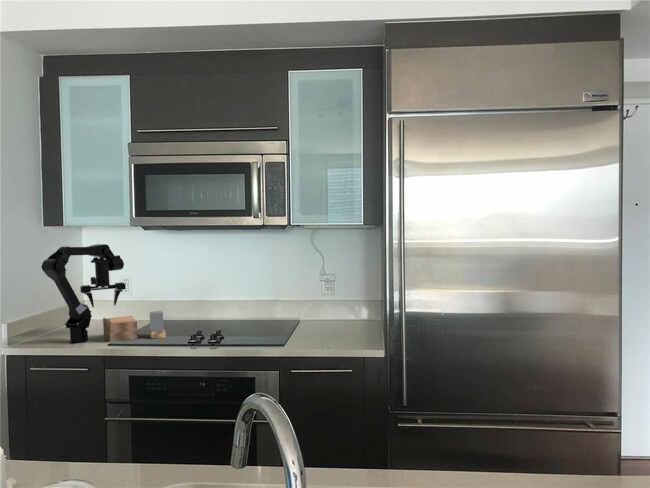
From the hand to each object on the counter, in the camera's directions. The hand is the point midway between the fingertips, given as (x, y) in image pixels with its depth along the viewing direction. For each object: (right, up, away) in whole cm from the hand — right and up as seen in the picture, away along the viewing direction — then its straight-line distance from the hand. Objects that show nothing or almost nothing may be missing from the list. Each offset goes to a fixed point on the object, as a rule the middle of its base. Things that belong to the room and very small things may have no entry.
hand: (104, 306), depth 260 cm
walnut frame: (+10, -13, -7) cm, 18 cm away
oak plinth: (+26, -13, -7) cm, 30 cm away
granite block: (+26, -10, -7) cm, 29 cm away
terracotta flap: (+10, -6, -7) cm, 13 cm away
